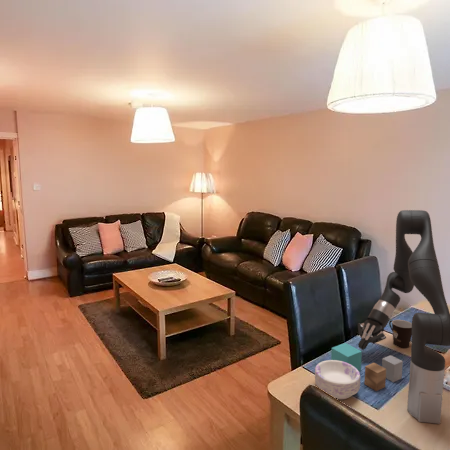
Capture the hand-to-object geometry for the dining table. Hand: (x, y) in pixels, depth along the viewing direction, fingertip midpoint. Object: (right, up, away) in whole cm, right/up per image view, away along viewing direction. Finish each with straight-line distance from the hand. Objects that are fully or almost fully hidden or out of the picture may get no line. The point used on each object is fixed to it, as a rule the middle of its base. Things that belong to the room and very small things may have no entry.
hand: (360, 348), depth 138 cm
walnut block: (-1, -8, -15) cm, 17 cm away
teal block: (-7, -7, -4) cm, 11 cm away
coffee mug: (+24, -4, +16) cm, 29 cm away
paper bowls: (-16, -9, -18) cm, 26 cm away
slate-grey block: (+8, -7, -10) cm, 14 cm away
